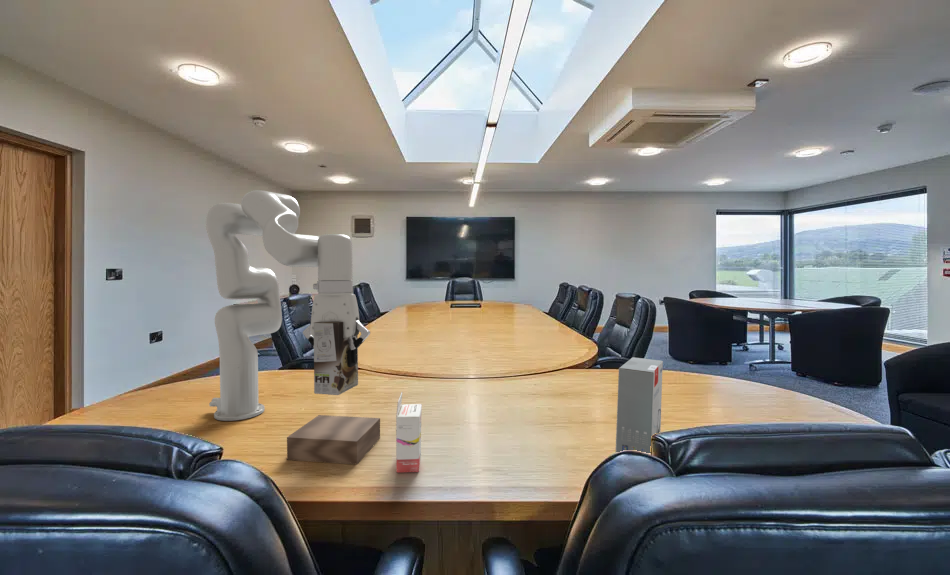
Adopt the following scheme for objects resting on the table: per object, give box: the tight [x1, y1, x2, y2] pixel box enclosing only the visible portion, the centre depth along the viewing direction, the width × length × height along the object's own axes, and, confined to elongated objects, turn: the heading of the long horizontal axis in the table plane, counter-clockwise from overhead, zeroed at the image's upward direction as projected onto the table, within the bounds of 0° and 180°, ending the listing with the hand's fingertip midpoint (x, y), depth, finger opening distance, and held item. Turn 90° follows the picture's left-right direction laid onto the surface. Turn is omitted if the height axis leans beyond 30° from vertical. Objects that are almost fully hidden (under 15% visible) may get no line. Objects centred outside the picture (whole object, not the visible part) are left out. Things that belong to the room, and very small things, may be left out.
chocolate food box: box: [313, 321, 359, 396], centre depth 94 cm, size 9×6×16 cm
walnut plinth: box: [286, 414, 381, 465], centre depth 95 cm, size 16×14×5 cm
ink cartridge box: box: [395, 391, 423, 474], centre depth 88 cm, size 9×5×15 cm, turn 5°
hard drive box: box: [615, 356, 664, 453], centre depth 97 cm, size 16×8×20 cm, turn 148°
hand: (336, 365), depth 94 cm, fingers closed on chocolate food box, 6 cm apart
